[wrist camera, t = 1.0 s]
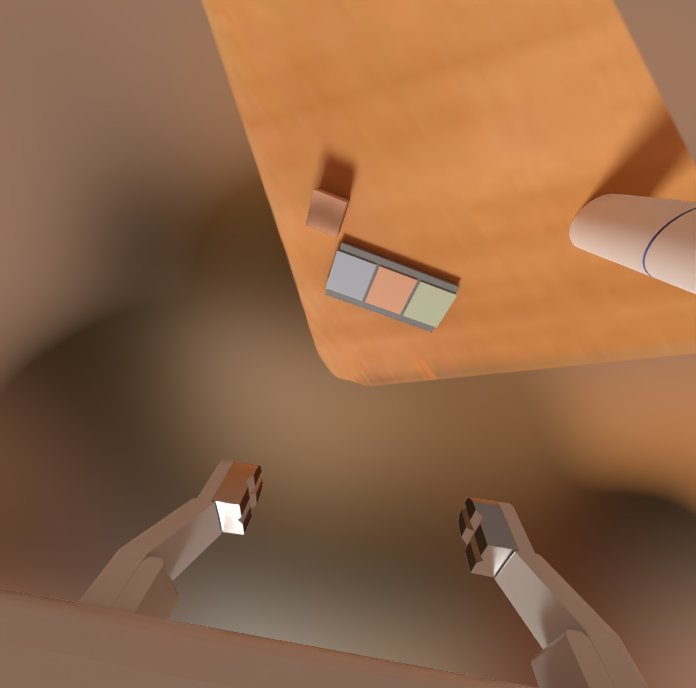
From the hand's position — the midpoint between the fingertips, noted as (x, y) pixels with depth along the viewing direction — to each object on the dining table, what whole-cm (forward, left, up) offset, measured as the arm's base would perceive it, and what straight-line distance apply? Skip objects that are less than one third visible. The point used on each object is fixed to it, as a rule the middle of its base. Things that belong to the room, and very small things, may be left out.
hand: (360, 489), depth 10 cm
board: (+5, +5, -37) cm, 38 cm away
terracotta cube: (-3, -8, -37) cm, 38 cm away
